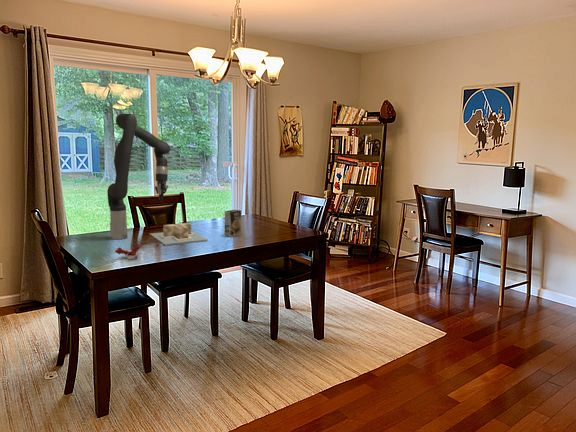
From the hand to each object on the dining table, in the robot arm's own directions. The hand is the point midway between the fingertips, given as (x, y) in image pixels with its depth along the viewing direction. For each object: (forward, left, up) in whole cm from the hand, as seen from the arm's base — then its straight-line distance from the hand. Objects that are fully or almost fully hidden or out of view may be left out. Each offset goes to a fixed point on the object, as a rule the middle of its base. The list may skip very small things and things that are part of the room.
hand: (161, 200), depth 293 cm
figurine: (-33, -56, -21) cm, 68 cm away
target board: (+3, -23, -21) cm, 31 cm away
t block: (+3, -26, -20) cm, 33 cm away
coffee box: (+36, -32, -21) cm, 53 cm away
